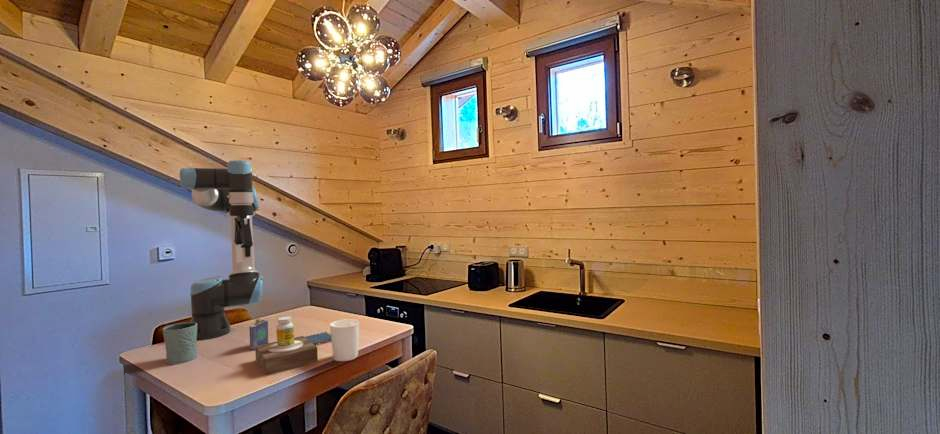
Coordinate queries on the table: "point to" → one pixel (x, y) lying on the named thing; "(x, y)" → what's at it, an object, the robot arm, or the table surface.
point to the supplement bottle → (285, 332)
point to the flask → (258, 333)
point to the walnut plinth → (286, 355)
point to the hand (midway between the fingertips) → (244, 264)
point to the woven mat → (319, 338)
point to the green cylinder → (180, 342)
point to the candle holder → (345, 339)
